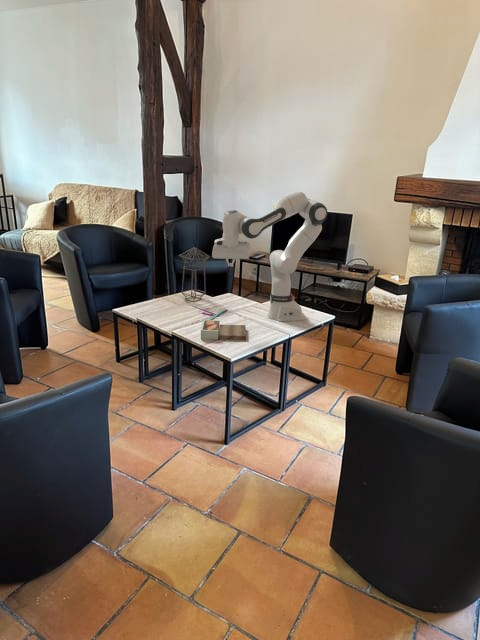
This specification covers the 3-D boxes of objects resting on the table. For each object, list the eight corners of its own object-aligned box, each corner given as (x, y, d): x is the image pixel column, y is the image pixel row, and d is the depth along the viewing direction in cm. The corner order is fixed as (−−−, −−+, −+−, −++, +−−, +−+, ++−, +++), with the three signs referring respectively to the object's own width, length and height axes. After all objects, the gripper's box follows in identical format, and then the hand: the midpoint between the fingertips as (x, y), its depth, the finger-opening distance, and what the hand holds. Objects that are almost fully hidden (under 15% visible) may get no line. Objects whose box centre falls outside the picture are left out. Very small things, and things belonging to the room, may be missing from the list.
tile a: (219, 330, 235) (216, 323, 233) (219, 333, 230) (216, 327, 229) (210, 333, 235) (207, 327, 234) (210, 337, 231) (207, 330, 229)
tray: (219, 328, 244) (219, 320, 242) (218, 339, 229) (218, 330, 227) (203, 328, 244) (203, 319, 242) (200, 339, 229) (200, 330, 227)
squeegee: (212, 306, 278) (227, 308, 274) (213, 308, 278) (227, 311, 274) (188, 320, 253) (203, 323, 249) (188, 323, 254) (203, 326, 250)
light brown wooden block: (214, 321, 239) (206, 321, 239) (214, 324, 235) (206, 324, 234) (214, 329, 241) (206, 329, 241) (214, 333, 236) (206, 333, 236)
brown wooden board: (245, 329, 244) (245, 325, 243) (245, 340, 229) (245, 335, 228) (220, 328, 244) (220, 324, 243) (218, 339, 229) (218, 335, 228)
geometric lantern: (193, 294, 304) (194, 244, 292) (210, 300, 295) (211, 248, 283) (176, 299, 293) (176, 247, 281) (193, 305, 283) (194, 251, 271)
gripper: (249, 240, 241) (249, 265, 246) (212, 240, 241) (212, 264, 246) (250, 242, 235) (249, 268, 240) (211, 242, 235) (211, 267, 240)
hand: (230, 266), depth 243 cm, fingers closed
